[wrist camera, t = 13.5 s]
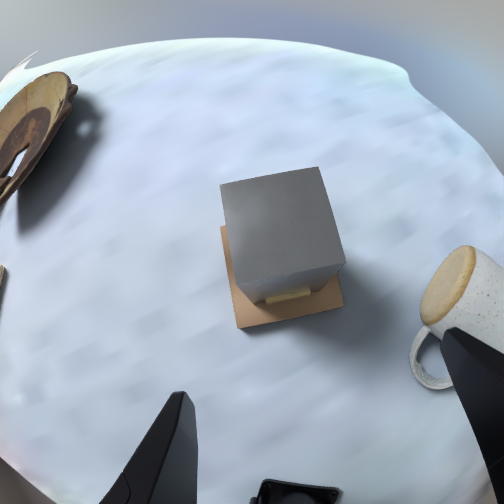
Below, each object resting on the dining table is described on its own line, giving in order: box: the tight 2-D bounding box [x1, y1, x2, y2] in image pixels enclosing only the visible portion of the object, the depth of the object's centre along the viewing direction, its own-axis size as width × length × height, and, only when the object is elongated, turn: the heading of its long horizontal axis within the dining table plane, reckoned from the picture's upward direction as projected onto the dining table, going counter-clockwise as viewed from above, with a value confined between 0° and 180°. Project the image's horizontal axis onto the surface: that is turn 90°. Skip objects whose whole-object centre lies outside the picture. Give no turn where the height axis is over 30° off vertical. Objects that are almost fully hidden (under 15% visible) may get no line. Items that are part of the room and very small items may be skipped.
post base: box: [220, 226, 344, 329], centre depth 22 cm, size 8×8×4 cm
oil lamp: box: [0, 72, 78, 207], centre depth 28 cm, size 22×30×8 cm
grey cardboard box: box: [220, 167, 346, 305], centre depth 18 cm, size 6×5×9 cm
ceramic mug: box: [409, 245, 504, 390], centre depth 17 cm, size 11×8×8 cm
